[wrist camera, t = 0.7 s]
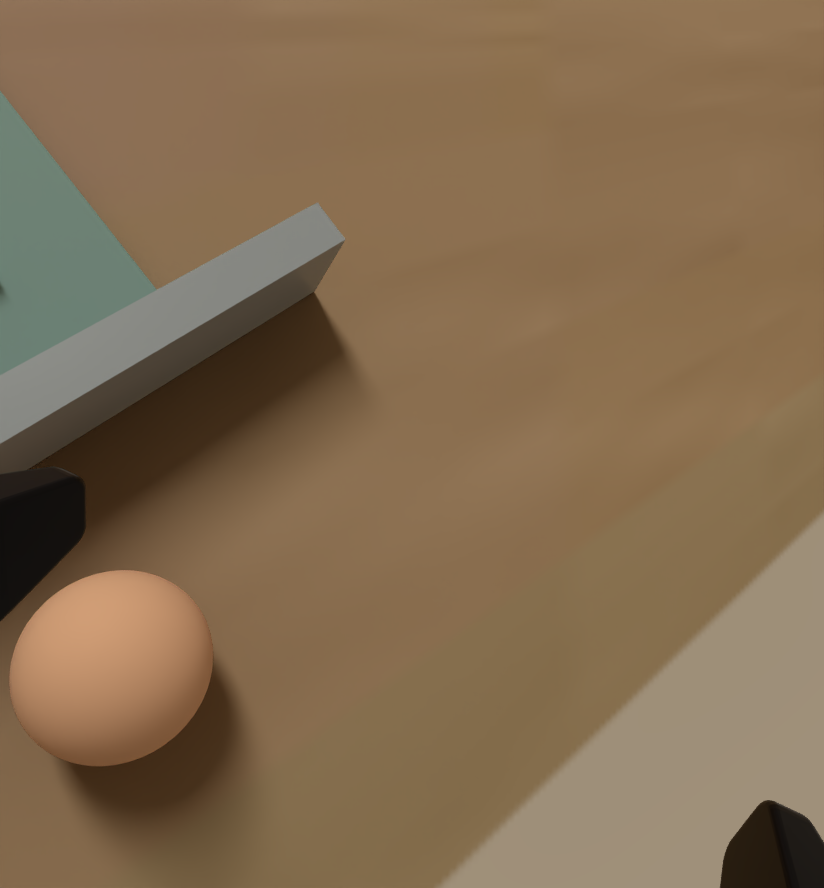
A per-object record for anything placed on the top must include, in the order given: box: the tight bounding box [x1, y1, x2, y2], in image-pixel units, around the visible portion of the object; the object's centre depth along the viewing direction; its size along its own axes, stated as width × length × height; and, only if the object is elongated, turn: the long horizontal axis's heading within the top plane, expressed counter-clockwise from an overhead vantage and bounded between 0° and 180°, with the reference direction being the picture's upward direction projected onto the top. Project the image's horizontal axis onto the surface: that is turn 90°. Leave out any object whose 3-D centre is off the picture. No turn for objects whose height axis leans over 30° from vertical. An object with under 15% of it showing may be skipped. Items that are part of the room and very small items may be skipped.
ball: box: [9, 570, 213, 766], centre depth 18 cm, size 5×5×5 cm
